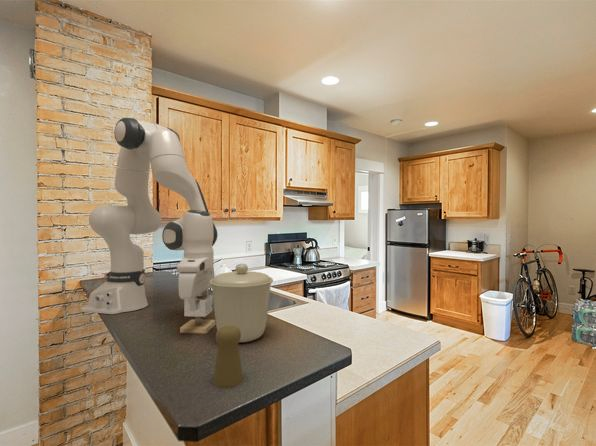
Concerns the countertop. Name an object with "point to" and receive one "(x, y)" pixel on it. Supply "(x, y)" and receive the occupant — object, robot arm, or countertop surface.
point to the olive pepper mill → (228, 358)
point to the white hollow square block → (199, 306)
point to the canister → (242, 301)
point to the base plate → (197, 326)
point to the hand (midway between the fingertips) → (198, 306)
